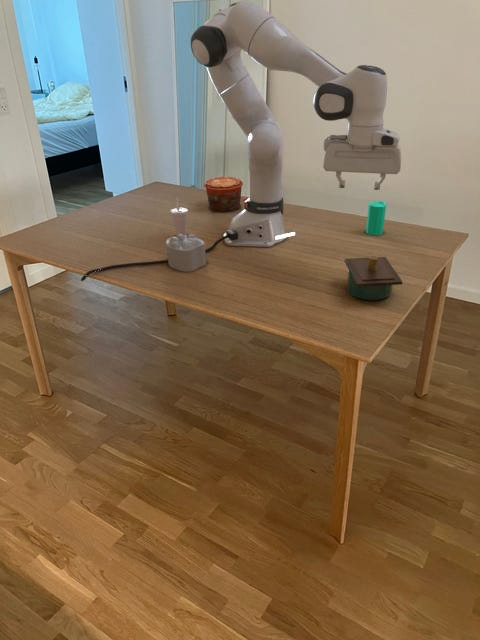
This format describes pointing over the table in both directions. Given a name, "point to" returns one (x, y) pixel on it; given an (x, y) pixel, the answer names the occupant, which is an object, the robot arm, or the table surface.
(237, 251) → the table surface
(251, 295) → the table surface
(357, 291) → the bowl
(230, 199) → the food container
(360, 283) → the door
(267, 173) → the robot arm
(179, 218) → the smoothie
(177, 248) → the lumpy-topped squat cylinder
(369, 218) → the candle
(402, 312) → the table surface
